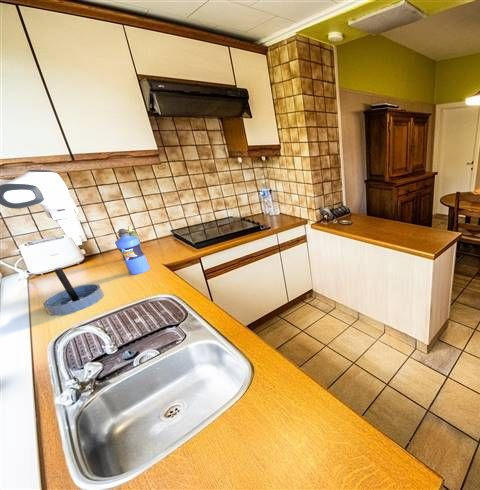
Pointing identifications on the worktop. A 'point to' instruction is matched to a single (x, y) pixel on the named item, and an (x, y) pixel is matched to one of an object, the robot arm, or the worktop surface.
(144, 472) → the worktop surface
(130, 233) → the vegetable
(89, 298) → the blue grey round bowl
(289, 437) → the worktop surface
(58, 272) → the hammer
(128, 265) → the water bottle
